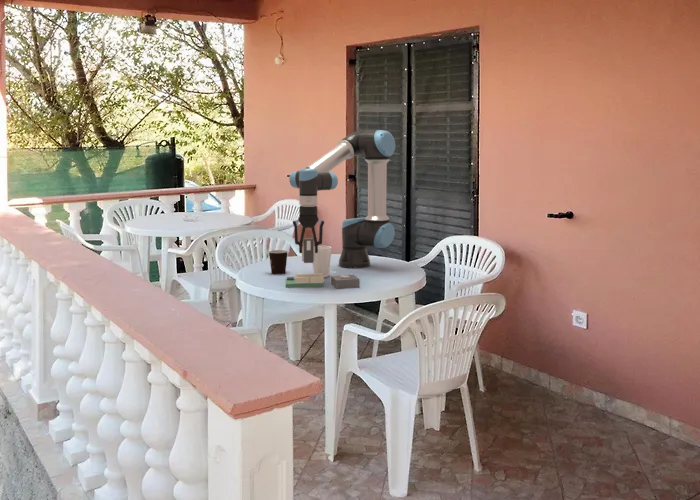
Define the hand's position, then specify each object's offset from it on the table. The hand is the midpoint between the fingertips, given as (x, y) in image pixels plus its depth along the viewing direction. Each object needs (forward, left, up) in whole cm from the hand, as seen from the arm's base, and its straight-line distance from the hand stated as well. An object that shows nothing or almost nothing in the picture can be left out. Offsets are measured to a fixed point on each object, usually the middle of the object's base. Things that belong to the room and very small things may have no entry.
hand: (308, 260), depth 320 cm
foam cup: (-6, -19, -11) cm, 23 cm away
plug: (0, 0, -1) cm, 1 cm away
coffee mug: (+13, -29, -11) cm, 34 cm away
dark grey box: (-15, +3, -11) cm, 19 cm away
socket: (0, 0, -9) cm, 9 cm away
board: (+2, -1, -11) cm, 11 cm away
